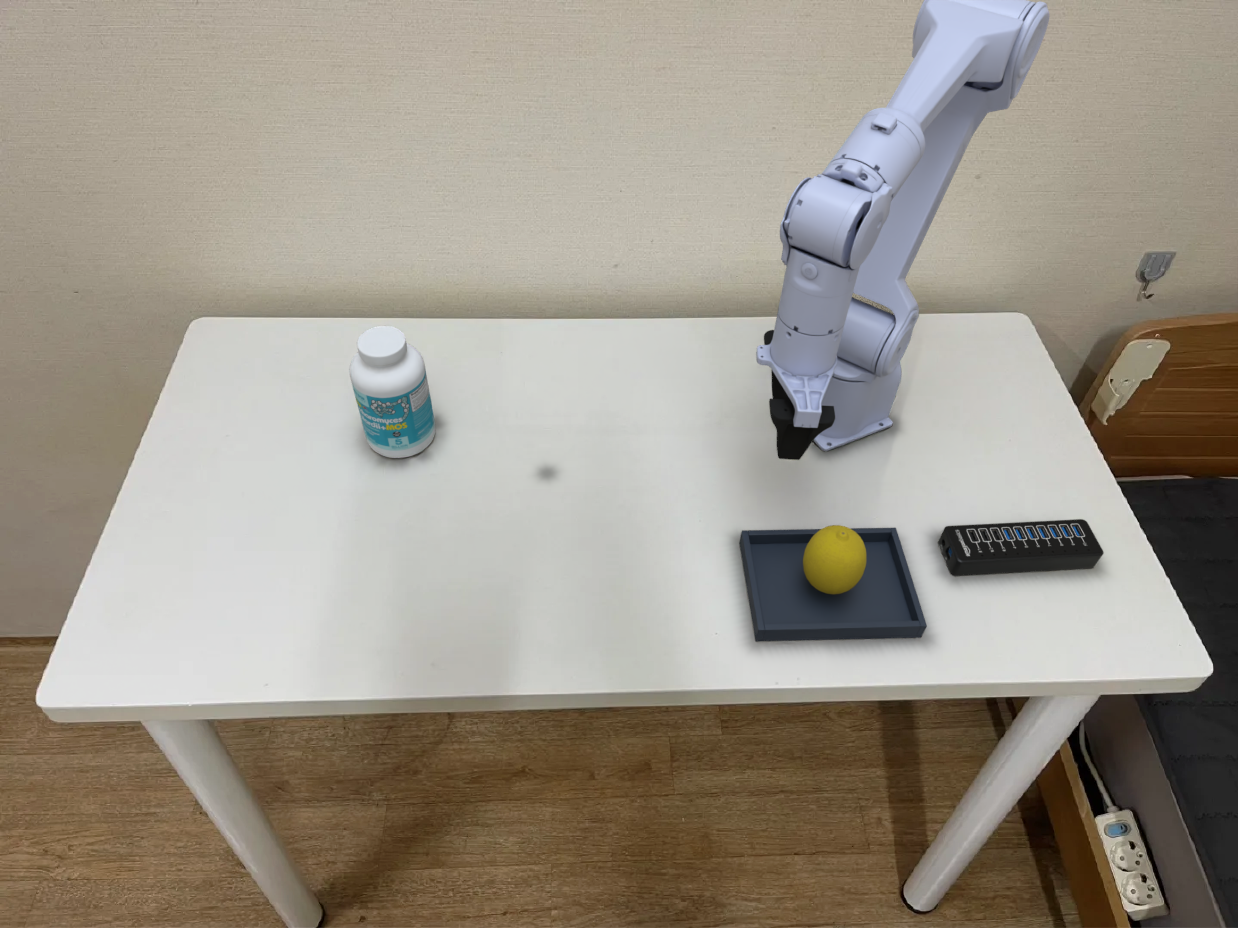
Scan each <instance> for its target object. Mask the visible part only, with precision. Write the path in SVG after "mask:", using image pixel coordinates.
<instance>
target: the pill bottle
mask: <svg viewBox="0 0 1238 928" xmlns="http://www.w3.org/2000/svg"><path fill="white" fill-rule="evenodd" d="M406 339H407V338H406V335H405V333H404V332H403V331H402V330H401V329H399V328H397V327H396V326H395V327H394V326H392V325H377V326H373V327H371V328H368V329H365V330H364V331H363V332H362V333H361V334H360V335H359V336H358V338H357V341H356V347H357V352H356V353H355V354H354V356H353V357H352V359H351V361H350V363H349V369H348V370H349V371H348V373H349V377H350V383H351V386H352V390H353V393H354V397H355V402H356V405H357V409H358V411H359V416H360V420H361V424H362V428H363V431H364V435H365V440H366V441H367V444H368V446H369V447H370V449H372V450H373V451H374V452H376V453H377V454H379V455H381V456H383V457H385V458H391V459H403V458H409V457H412V456H414V455H417V454H419V453H421V452H422V451H424V450H425V449H426V448H427V447H429V445H430V444H431V443H432V441H433V440H434V438H435V435H436V422H435V415H434V409H433V404H432V399H431V393H430V387H429V386H430V385H429V381H428V375H427V371H426V365H425V364H426V363H425V361H424V357H423V355H422V353H421V352H420V351H419V350H418V349H417V348H416V347H415V346H414V345H412V344H410V343H408V342H407V340H406Z"/></svg>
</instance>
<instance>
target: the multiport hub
mask: <svg viewBox="0 0 1238 928" xmlns="http://www.w3.org/2000/svg"><path fill="white" fill-rule="evenodd" d="M937 544H938V547H939V550H940V552H941V554H942V557H943V559H944V562H945V565H946V567H947V570H948V572H949V574H950V575H951V576H952V577H965V576H985V575H1001V574H1002V575H1004V574H1021V573H1038V572H1039V573H1041V572H1057V571H1073V570H1077V571H1078V570H1093V569H1094V568H1095V567H1096V565H1097V564H1098V562H1099V561H1100V559H1102V557H1103V555H1104V553H1105V552H1104V549H1103V548H1102V546H1101V544H1100V543H1099V540H1098V539H1097V537H1096V534H1094V532H1093V530H1092V528H1091V526H1090V524H1089V523H1088V521H1087V520H1085V519H1083V518H1079V519H1078V518H1077V519H1057V520H1037V521H1036V520H1035V521H1019V522H1003V523H1002V522H999V523H997V522H996V523H977V524H960V525H958V524H957V525H945V527H944V528H943V530H942V533H941V534H940V536H939V539H938V541H937Z"/></svg>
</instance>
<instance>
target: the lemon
mask: <svg viewBox="0 0 1238 928" xmlns="http://www.w3.org/2000/svg"><path fill="white" fill-rule="evenodd" d="M820 529H821V530H819V531H818V532H817V533H816V534H815V535H814V536H813V537H812V538H811V540H810V541H809V543H808V544H807V546H806V549H805V552H804V557H803V569H804V573H805V575H806V578H807V580H808V581H809V582H810V584H811V585H812V586H813V587H815V588H816V589H817V590H819V591H821V592H823V593H827V594H841V593H844V592H847V591H849V590H850V589H852V588H853V587H854V586H855V585H856V584H857V583H858V582H859V580H860V579H861V577H862V575H863V573H864V570H865V567H866V548H865V545H864V542H863V541H862V539H861V537H860V536H859V535H858V534H857V533H856V532H855V531H853V530H852V529H850V527H848V526H845V525H841V524H833V525H828V526H825V527H823V528H820Z"/></svg>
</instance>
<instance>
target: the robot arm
mask: <svg viewBox="0 0 1238 928" xmlns="http://www.w3.org/2000/svg"><path fill="white" fill-rule="evenodd" d="M1050 14H1051V13H1050V11H1049V8H1048V3H1046V2H1045V1H1041V0H1039V1H1037V2H1035V1H1031V0H923V1H922V3H921V6H920V8H919V11H918V13H917V15H916V19H915V22H914V27H913V30H912V31H913V32H912V50H911V57H912V61H911V63H910V65H909V66H908V68H907V70H906V72H905V74H904V75H903V76H902V79H901V80H900V82H899V83H898V86H897V87H896V89H895V91H894V93H893V94H892V96H891V98H890V99H889V101H888V103H887V105H886V106H885V107H877V108H873V109H871V110H869V111H867V112H866V113H864V114H863V115H862V117H861V119H860V120H859V121H858V123H857V124H856V126H855V127H854V128H853V130H852V131H851V132H850V134H849V135H848V136H847V138H846V139H845V141H844V142H843V143H842V145H841V146H840V147H839V149H838V150H837V152H836V153H835V154H834V156H832V158H831V160H830V161H829V162H828V164H827V165H826V167H825V168H824V169H823V171H822V172H821V173H818V174H816V175H814V176H813V177H810V176H807V177H804V178H803V179H802V180H801V181H800V182H799V183H798V184H797V186H796V187H795V188H794V190H793V192H792V193H791V195H790V197H789V199H788V201H787V204H786V206H785V210H784V213H783V217H782V220H781V222H780V224H779V225H780V226H779V239H780V242H781V243H782V251H781V257H780V260H781V262H782V263H783V265H784V266H786V267H785V271H784V276H783V282H782V287H781V292H780V298H779V302H778V308H777V313H776V319H775V324H774V329H770V330H767V331H765V333H764V334H763V341H764V344H759V345H758V346H757V347H756V352H755V358H756V363H757V364H758V365H760V366H767V367H769V368H770V371H771V395H772V396H771V397H772V398H769V401H768V404H769V416H770V419H771V422H772V424H773V425H774V428H775V431H776V453H777V458H778V459H779V460H792V461H800V460H801V458H802V457H803V456H804V455H805V453H806V452H807V450H808V449H809V447H810V445H811V444H812V443H813V442H814V443H815V444H816V445H817V446H818V448H819V449H820V450H821V451H823V452H828V451H832V450H833V449H836V448H840V447H842V446H844V445H848V444H849V443H852V442H854V441H858V440H860V439H862V438H865V437H868V436H870V435H873V434H875V433H877V432H880V431H884V430H886V429H888V428H891V427H892V426H893V423H894V421H893V420H892V419H891V418H890V417H889V416H890V413H891V411H892V408H893V405H894V402H895V398H896V396H897V393H898V390H899V388H900V386H901V385H900V384H901V381H902V374H903V373H902V365H901V360H902V359H903V357H904V355H905V353H906V351H907V349H908V346H909V344H910V341H911V338H912V336H913V332H914V328H915V325H916V323H917V321H918V319H919V317H920V314H919V312H920V308H919V304H918V301H917V300H916V298H915V296H914V295H913V293H912V291H911V289H910V287H909V286H908V283H907V281H906V278H907V276H908V273H910V270H911V267H912V265H913V263H914V261H915V259H916V257H917V254H918V252H919V251H920V248H921V246H922V244H923V243H924V240H925V238H926V235H927V233H928V231H929V230H930V227H931V225H932V223H933V221H934V219H935V217H936V215H937V212H938V210H939V208H940V206H941V203H942V202H943V200H944V197H945V195H946V193H947V191H948V189H949V187H950V185H951V183H952V180H953V178H954V176H955V174H956V172H957V170H958V168H959V165H960V163H961V161H962V159H963V157H964V154H965V152H966V151H967V149H968V147H969V144H970V142H971V140H972V138H973V136H974V134H975V133H976V131H977V130H978V128H979V127H980V125H981V124H982V122H983V121H984V119H985V118H986V116H987V115H988V114H989V113H993V112H999V111H1003V110H1007V109H1009V108H1010V106H1011V104H1012V102H1013V100H1014V99H1015V98H1016V97H1017V96H1018V95H1019V93H1020V91H1021V89H1022V86H1023V84H1024V82H1025V80H1026V78H1027V76H1028V74H1029V72H1030V69H1031V68H1032V65H1033V63H1034V61H1035V60H1036V57H1037V55H1038V53H1039V51H1040V48H1041V45H1042V43H1043V40H1044V38H1045V36H1046V32H1047V29H1048V26H1049V23H1050V17H1051V16H1050ZM853 294H854V295H857V296H859V297H861V298H864V299H867V300H868V301H871V302H874V303H876V304H879V305H880V306H883V307H886V308H887V309H888V310H890V311H891V312H892V313H891V312H889V311H887V310H885V309H884V310H883V308H879V307H876V306H875V305H872V304H870V303H867V302H865V301H862V300H861V299H858V298H856V297H854V296H853Z"/></svg>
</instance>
